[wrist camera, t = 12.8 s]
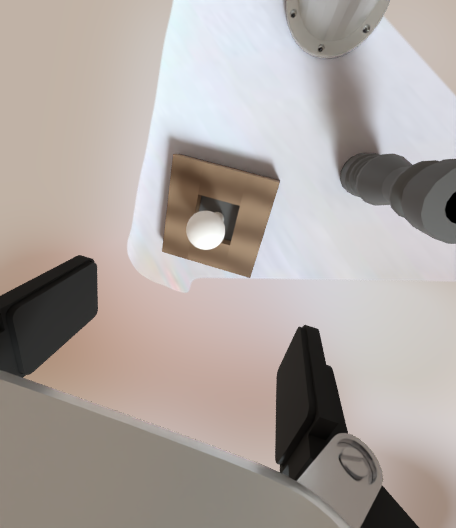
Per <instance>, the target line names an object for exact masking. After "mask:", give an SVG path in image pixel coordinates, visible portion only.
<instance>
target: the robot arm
mask: <svg viewBox="0 0 456 528" xmlns="http://www.w3.org/2000/svg"><path fill="white" fill-rule="evenodd" d="M389 2H390V0H286V15H287V21H288V26H289V29H290V32H291V34H292V37H293V39H294V40H295V42H296V43H297V45H298V46H299V47H300V48H301V49H302V50H303V51H305V52H306V53H308V54H310V55H311V56H314V57H318V58H334V57H339V56H342V55H344V54H346V53H349V52H350V51H352V50H353V49H355V48H356V47H358V46H359V45H360V44H361V43H362V42H363V41H365V40H366V39H367V38H368V36H369V35H370V34H371V33H372V32H373V30H374V29H375V28H376V26H377V25H378V23H379V22H380V21H381V19H382V17H383V15H384V13H385V11H386V10H387V7H388V4H389ZM293 14H294V15H295V17H294V18H292V17H291V16H292V15H293ZM363 30H366V33H363ZM319 48H321V49H322V51H321V52H319V51H318V49H319ZM97 311H98V297H97V265H96V264H95V263H94V260H93V259H91V258H87V257H84V256H81V255H79V256H76V257H74V258H73V259H70V260H68V261H66V262H65V263H63V264H61V265H59V266H57V267H55V268H53V269H51V270H49V271H47V272H45V273H43V274H41V275H40V276H38V277H36V278H34V279H32V280H30V281H28V282H26V283H24V284H22V285H20V286H18V287H16V288H15V289H13V290H11V291H9V292H7V293H5V294H3V295H2V296H0V528H419V527H418V526H417V525H416V524H415V522H414V521H413V520H412V519H411V518H410V517H409V516H408V515H407V513H406V512H405V511H404V510H403V509H402V508H401V507H400V505H399V504H398V503H397V502H396V501H395V500H394V499H393V497H392V496H391V495H390V494H389V493H388V492H387V490H386V489H385V488H384V487H383V486H382V482H383V476H382V470H381V467H380V465H379V462H378V460H377V458H376V457H375V455H374V453H373V452H372V451H371V450H370V449H369V448H368V446H367V445H366V444H365V443H363V442H362V441H361V440H360V439H359V438H356V437H355V436H353V435H351V434H348V431H347V427H346V424H345V419H344V415H343V410H342V406H341V402H340V398H339V394H338V389H337V385H336V381H335V377H334V373H333V370H332V368H331V366H328V365H326V361H325V357H324V352H323V347H322V343H321V338H320V333H319V330H318V329H316V328H313V327H310V326H307V325H304V326H303V327H298V329H297V331H296V333H295V335H294V337H293V339H292V342H291V343H290V346H289V348H288V350H287V352H286V354H285V356H284V358H283V360H282V362H281V365H280V367H279V369H278V372H277V388H276V389H277V390H276V449H275V450H276V451H275V460H276V463H277V464H280V472H277V471H275V470H273V469H271V468H268V467H266V466H264V465H262V464H260V463H257V462H254V461H252V460H249V459H247V458H244V457H241V456H239V455H236V454H233V453H231V452H228V451H226V450H223V449H220V448H218V447H215V446H213V445H210V444H207V443H204V442H201V441H199V440H196V439H193V438H190V437H188V436H185V435H182V434H179V433H177V432H173V431H171V430H168V429H166V428H163V427H160V426H157V425H154V424H152V423H149V422H146V421H144V420H141V419H138V418H135V417H132V416H130V415H126V414H124V413H121V412H118V411H116V410H113V409H110V408H107V407H104V406H101V405H99V404H96V403H93V402H90V401H87V400H84V399H82V398H79V397H76V396H73V395H71V394H67V393H65V392H62V391H59V390H56V389H53V388H50V387H48V386H45V385H42V384H39V383H36V382H33V381H30V380H27V379H25V378H23V377H24V376H25V375H29V374H31V373H32V372H34V371H35V370H36V369H37V368H38V367H39V366H40V365H41V364H43V363H44V362H45V361H46V360H47V359H48V358H49V357H50V356H51V355H52V354H54V353H55V352H56V351H57V350H58V349H59V348H60V347H62V346H63V345H64V344H65V343H66V342H67V341H68V340H69V339H71V337H72V336H74V335H75V334H76V333H77V332H78V331H79V330H80V329H82V328H83V327H84V326H85V325H86V324H87V323H88V322H89V321H91V320H92V319H93V318H94V317H95V315H96V314H97Z"/></svg>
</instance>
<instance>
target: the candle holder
mask: <svg viewBox="0 0 456 528" xmlns="http://www.w3.org/2000/svg"><path fill="white" fill-rule="evenodd" d="M340 181H341V184H342V187H343V188H344V189H345V190H346V191H347V192H349V193H351V194H352V195H355V196H358V197H361V198H362V199H363V200H364V201H365V202H367V203H369V204H372V205H391V208H392V209H393V210H394V211H395V212H396V213H397V214H398V215H399V216H401V217H404V218H405V219H406V220H407V221H408V222H409V223H410V224H411V225H412V226H413V227H415V228H416V229H418V230H420V231H422V232H423V233H425V234H427V235H429V236H431V237H432V238H434V239H437V240H440V241H443V242H445V243H448V244H456V159H447V160H442V161H440V162H439V161H436V160H435V161H421V162H419V163H416V164H414V165H412V164H411V163H410V162H408V161H407V160H406V159H405V158H404V157H402V156H399V155H396V154H383V155H379V154H376V153H362V154H358V155H356V156H354V157H351V158H350V159H349V160H348V161H347V162H346V163H345V164H344V166H343V168H342V170H341V176H340Z"/></svg>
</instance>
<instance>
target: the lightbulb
mask: <svg viewBox="0 0 456 528" xmlns="http://www.w3.org/2000/svg"><path fill="white" fill-rule="evenodd" d="M186 233H187V237H188V239H189V241H190V242H191V243H192V244H193V245H194V246H195V247H197V248H199V249H203V250H209V249H213V248H215V247H217V246H218V245H219V244H220V243H221V242H222V240H223V239H224V236H225V225H224V216H223V215H222V214H221V213H220V212H215V213H214V212H211V211H200V212H197V213H195V214H194V215H193V216H192V217H191V218H190V219H189V221H188V223H187V227H186Z"/></svg>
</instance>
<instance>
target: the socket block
mask: <svg viewBox="0 0 456 528" xmlns="http://www.w3.org/2000/svg"><path fill="white" fill-rule="evenodd" d="M279 183H280V180H276V179H272V178H269V177H265V176H261V175H257V174H253V173H250V172H246V171H242V170H238V169H235V168H231V167H227V166H223V165H219V164H216V163H212V162H208V161H204V160H201V159H197V158H193V157H189V156H185V155H182V154H173V161H172V169H171V178H170V187H169V195H168V204H167V213H166V221H165V230H164V239H163V248H162V252H165V253H168V254H172V255H175V256H178V257H182V258H185V259H188V260H192V261H195V262H198V263H202V264H205V265H209V266H212V267H215V268H219V269H222V270H225V271H229V272H232V273H235V274H239V275H242V276H246V277H249V278H250V276H251V273H252V270H253V267H254V263H255V260H256V257H257V254H258V251H259V247H260V244H261V241H262V238H263V235H264V231H265V228H266V225H267V222H268V218H269V215H270V212H271V209H272V206H273V202H274V199H275V196H276V193H277V190H278V186H279ZM200 211H211V212H214V213H215V212H220V213H221V214H222V215H223V216H224V225H225V236H224V239H223V240H222V242H221V243H220V244H219V245H218V246H217V247H215V248H213V249H209V250H203V249H199V248H197V247H195V246H194V245H193V244H192V243H191V242H190V241H189V239H188V237H187V233H186V227H187V223H188V221H189V219H190V218H191V217H192V216H193V215H194V214H195V213H197V212H200Z"/></svg>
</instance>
